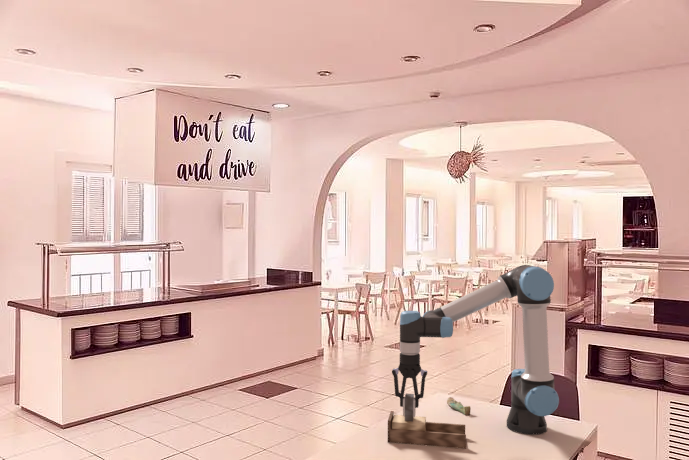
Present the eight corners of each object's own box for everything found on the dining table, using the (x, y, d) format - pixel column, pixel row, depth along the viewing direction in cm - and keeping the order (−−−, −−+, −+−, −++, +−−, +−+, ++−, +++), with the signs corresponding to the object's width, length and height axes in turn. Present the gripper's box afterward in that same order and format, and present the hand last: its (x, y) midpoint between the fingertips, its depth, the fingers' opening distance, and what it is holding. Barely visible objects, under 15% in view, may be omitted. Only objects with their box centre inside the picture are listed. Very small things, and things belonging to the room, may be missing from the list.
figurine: (459, 416, 234) (459, 407, 234) (444, 405, 249) (444, 396, 249) (471, 415, 236) (471, 406, 236) (456, 404, 250) (456, 395, 250)
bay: (465, 437, 210) (465, 416, 210) (465, 448, 199) (466, 426, 199) (390, 431, 215) (391, 410, 215) (387, 442, 204) (387, 420, 204)
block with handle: (425, 432, 211) (426, 393, 211) (424, 441, 203) (425, 399, 203) (393, 430, 214) (394, 391, 214) (391, 438, 205) (392, 397, 205)
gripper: (432, 351, 210) (431, 414, 211) (389, 349, 213) (388, 410, 214) (431, 356, 203) (430, 420, 203) (387, 353, 206) (386, 417, 206)
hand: (409, 415), depth 208 cm, fingers closed on block with handle, 3 cm apart
